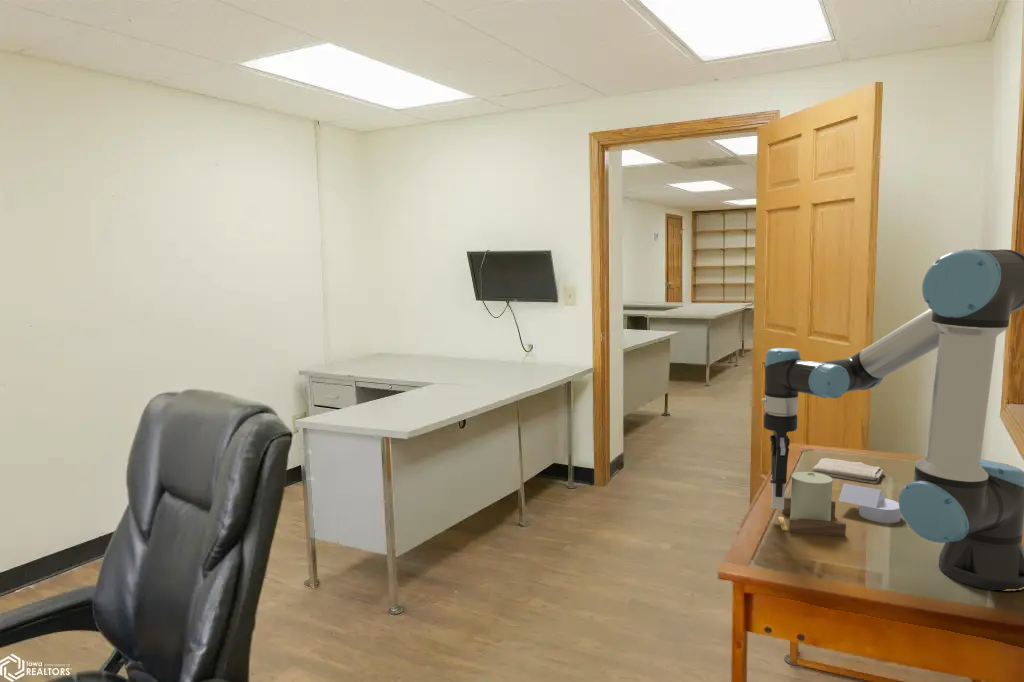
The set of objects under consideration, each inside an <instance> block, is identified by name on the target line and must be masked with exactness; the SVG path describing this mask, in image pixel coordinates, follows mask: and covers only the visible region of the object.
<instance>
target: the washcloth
mask: <svg viewBox="0 0 1024 682" xmlns="http://www.w3.org/2000/svg"><path fill="white" fill-rule="evenodd" d="M811 472H816V473H821V474H825V475H827V476H830V477H831V478H838V479H842V480H843V479H845V480H850V481H857V482H860V483H861V482H862V483H869V484H872V485H875V484H877V483H878V482H879V481H880V480H881V478H882V477H883V474H884V469H882V468H881V467H880V466H873V465H869V464H866V463H863V462H861V461H858V462H857V461H855V462H854V461H848V460H844V459H843V460H842V459H833V458H828V457H826V458H825V457H824V458H821V459H819V461H818V462H817V464H815V465H814V466H813V467H812V470H811ZM880 477H881V478H880Z"/></svg>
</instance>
